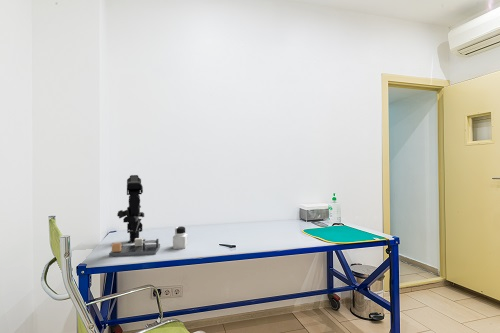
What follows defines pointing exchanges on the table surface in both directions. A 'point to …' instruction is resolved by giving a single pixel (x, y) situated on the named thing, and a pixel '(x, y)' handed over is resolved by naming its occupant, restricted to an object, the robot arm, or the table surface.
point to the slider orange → (116, 247)
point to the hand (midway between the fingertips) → (134, 232)
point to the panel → (137, 250)
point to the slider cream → (138, 241)
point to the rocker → (149, 241)
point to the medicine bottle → (179, 238)
